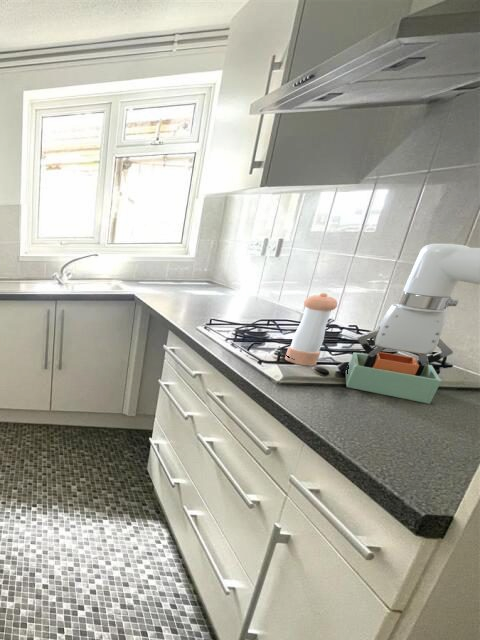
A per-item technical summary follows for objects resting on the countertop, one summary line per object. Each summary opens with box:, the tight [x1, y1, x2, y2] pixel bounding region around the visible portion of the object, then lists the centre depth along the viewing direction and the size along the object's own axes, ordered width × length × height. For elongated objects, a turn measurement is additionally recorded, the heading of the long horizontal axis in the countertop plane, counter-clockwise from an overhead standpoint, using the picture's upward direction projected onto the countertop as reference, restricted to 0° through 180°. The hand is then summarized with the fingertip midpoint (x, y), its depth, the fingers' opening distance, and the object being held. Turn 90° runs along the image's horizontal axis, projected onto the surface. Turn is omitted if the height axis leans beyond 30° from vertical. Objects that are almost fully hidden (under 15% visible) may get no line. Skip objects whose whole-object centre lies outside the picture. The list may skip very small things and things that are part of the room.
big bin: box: [345, 352, 442, 405], centre depth 100 cm, size 14×12×6 cm
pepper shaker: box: [284, 292, 338, 367], centre depth 114 cm, size 7×7×19 cm
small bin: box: [373, 351, 419, 375], centre depth 99 cm, size 7×7×5 cm
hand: (389, 374), depth 100 cm, fingers closed on small bin, 7 cm apart
